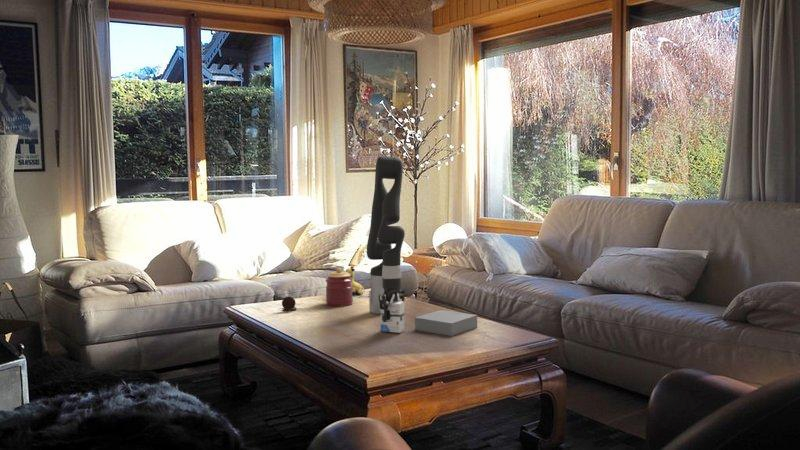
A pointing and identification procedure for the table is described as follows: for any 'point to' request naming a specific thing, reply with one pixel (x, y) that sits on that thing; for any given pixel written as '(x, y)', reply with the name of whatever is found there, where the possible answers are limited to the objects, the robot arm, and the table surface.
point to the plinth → (446, 322)
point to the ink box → (394, 318)
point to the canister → (339, 288)
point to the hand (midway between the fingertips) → (392, 318)
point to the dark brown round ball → (288, 304)
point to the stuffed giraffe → (355, 284)
